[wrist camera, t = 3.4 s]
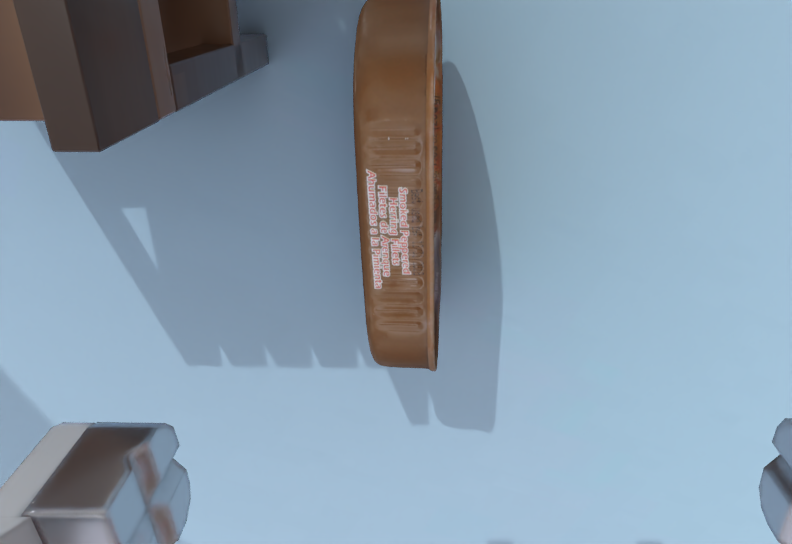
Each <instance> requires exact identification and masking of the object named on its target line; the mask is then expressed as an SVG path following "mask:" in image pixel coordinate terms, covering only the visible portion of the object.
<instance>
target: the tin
mask: <svg viewBox="0 0 792 544" xmlns="http://www.w3.org/2000/svg"><path fill="white" fill-rule="evenodd" d="M442 79H443V75H442V21H441V2H440V0H367V1H366V3H365V4H364V6H363V7H362V10H361V13H360V15H359V20H358V25H357V33H356V43H355V53H354V76H353V107H354V139H355V156H356V173H357V194H358V212H359V227H360V243H361V259H362V271H363V287H364V299H365V312H366V324H367V333H368V340H369V345H370V351H371V354H372V356H373V358H374V360H375V361H376V362H377V363H378V364H379V365H382V366H388V367H403V368H428V369H430V370H431V371H436V369H437V358H438V338H439V311H440V295H441V236H442V84H443V82H442Z"/></svg>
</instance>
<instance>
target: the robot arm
mask: <svg viewBox="0 0 792 544" xmlns="http://www.w3.org/2000/svg"><path fill="white" fill-rule="evenodd" d="M772 443H773V444H774V446H775V447H776V449H777V451H778V452H779V454H780V455H779V456H778V457H776V458H775V459H774V460H773V461H772V462H770V463H769V464H768V465H767V466H765V467H764V469H763V473H762V477H761V481H760V485H759V492H760V500H761V508H762V511H763V514H764V516H765V519H766V521H767V524H768V526H769V528H770V529H771V531H772V532H773V534H774V536H775V537H776V539H777V541H778V542H779V543H781V544H792V418H785V419H784V420H783V421H782V422H781V423H780V424H779V425H778V426H777V428H776V431H775V434H774V437H773V440H772ZM178 447H179V442H178V439H177V436H176V433H175V430H174V427H172V426H170V425H168V424H166V423H118V422H97V423H74V422H63V423H61V424H59V425H56V426H54V427H52V428H51V429H50V430H49V431H48V433H47V434H46V435H45V436H44V437H43V438H42V440H41V441H40V442H39V443H38V444H37V446H36V447H35V448H34V449H33V450H32V451H31V453H30V454H29V455H28V456H27V457H26V459H25V460H24V461H23V462H22V463H21V465H20V466H19V467H18V468H17V469H16V470H15V472H14V473H13V474H12V475H11V476H10V478H9V479H8V480H7V481H6V482H5V483H4V485H3V486H2V487H1V488H0V544H174V543H175V542H176V541H178V540H179V538H180V535H181V533H182V531H183V528H184V526H185V523H186V521H187V516H188V510H189V505H190V499H191V498H190V482H189V478H188V474H187V470H186V469H185V468H184V467H183V466H182V465H180V464H179V463H178V462H177V461H176V460H175V459H173V457H174V455H175V453H176V451H177V449H178Z"/></svg>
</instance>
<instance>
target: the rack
mask: <svg viewBox="0 0 792 544" xmlns="http://www.w3.org/2000/svg"><path fill="white" fill-rule="evenodd" d="M268 63H269V61H268V50H267V39H266V35H265V34H240V33H239V24H238V16H237V7H236V0H0V121H45V124H46V128H47V132H48V135H49V139H50V143H51V147H52V150H53V151H55V152H101V151H103V150H105V149H107V148H109V147H111V146H112V145H114V144H116V143H118V142H120V141H122V140H124V139H126V138H128V137H130V136H132V135H133V134H135V133H137V132H139V131H141V130H143V129H145V128H147V127H149V126H151V125H153V124H154V123H156V122H158V121H159V120H161V119H163V118H165V117H166V116H168V115H170V114H172V113H174V112H177V111H179V110H181V109H183V108H185V107H187V106H189V105H191V104H192V103H194V102H196V101H198V100H200V99H202V98H204V97H206V96H208V95H210V94H212V93H213V92H215V91H217V90H219V89H221V88H223V87H225V86H227V85H229V84H231V83H233V82H234V81H236V80H238V79H240V78H242V77H244V76H246V75H248V74H250V73H252V72H254V71H256V70H257V69H259V68H261V67H263V66H265V65H267V64H268Z"/></svg>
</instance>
